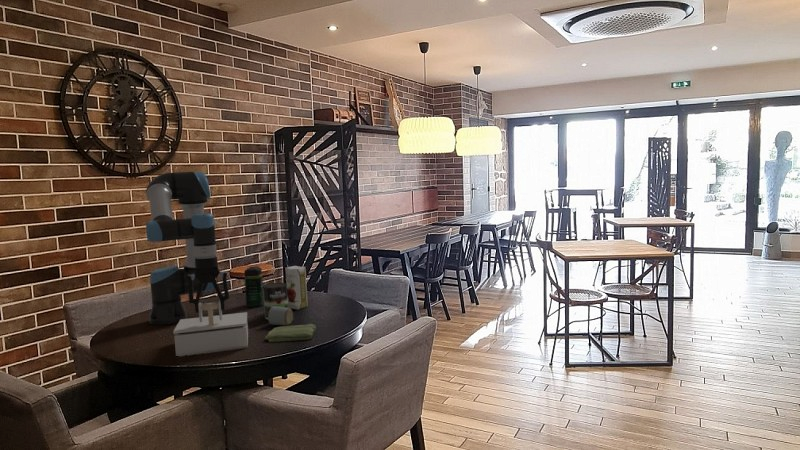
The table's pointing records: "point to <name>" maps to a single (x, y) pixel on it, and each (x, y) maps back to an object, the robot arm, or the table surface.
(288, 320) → the ceramic mug
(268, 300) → the coffee can
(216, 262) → the robot arm
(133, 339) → the table surface
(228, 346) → the box
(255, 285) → the coffee jar
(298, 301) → the juice carton
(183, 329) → the lid
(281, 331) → the washcloth
